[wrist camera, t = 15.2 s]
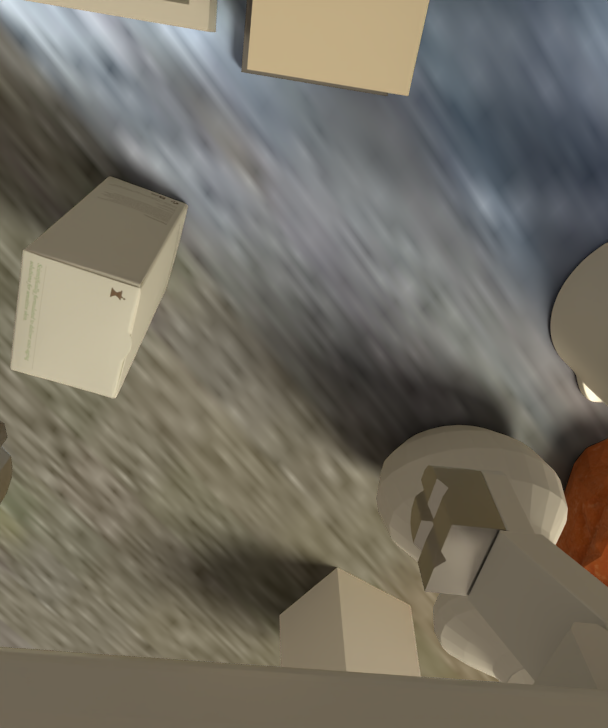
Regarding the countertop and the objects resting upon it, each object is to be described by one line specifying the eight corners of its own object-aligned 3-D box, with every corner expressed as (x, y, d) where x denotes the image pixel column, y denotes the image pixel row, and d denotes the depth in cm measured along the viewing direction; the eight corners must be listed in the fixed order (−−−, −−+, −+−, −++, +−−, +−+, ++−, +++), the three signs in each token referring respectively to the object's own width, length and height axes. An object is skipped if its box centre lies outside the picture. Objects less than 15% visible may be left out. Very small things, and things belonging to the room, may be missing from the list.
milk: (279, 615, 68) (270, 892, 46) (337, 567, 64) (358, 849, 42) (351, 648, 72) (375, 918, 50) (410, 605, 68) (466, 882, 45)
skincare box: (109, 173, 40) (17, 238, 27) (195, 205, 42) (146, 282, 28) (90, 271, 44) (1, 370, 31) (169, 297, 46) (116, 404, 32)
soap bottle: (366, 495, 58) (419, 846, 33) (371, 407, 52) (441, 755, 27) (523, 492, 58) (696, 841, 33) (546, 404, 52) (781, 748, 27)
